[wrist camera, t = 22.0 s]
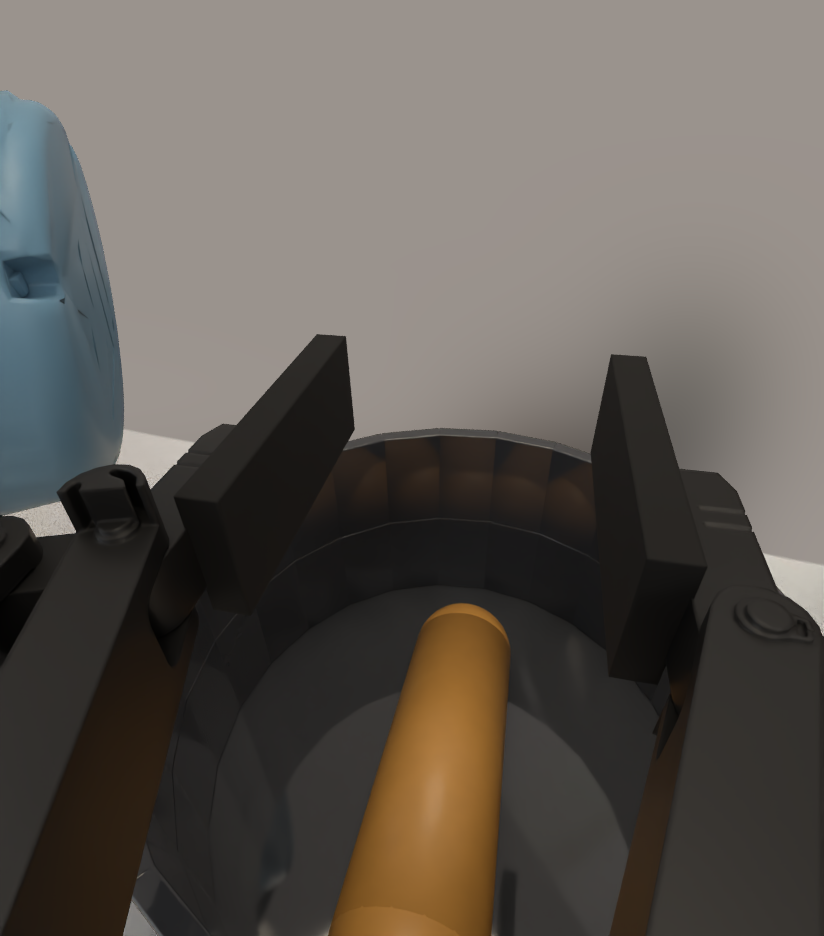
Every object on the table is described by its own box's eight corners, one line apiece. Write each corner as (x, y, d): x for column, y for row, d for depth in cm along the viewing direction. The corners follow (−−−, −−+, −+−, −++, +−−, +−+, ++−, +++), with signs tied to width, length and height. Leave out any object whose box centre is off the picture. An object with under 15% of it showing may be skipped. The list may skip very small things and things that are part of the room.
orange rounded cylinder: (472, 1143, 12) (487, 1053, 11) (301, 1086, 13) (291, 994, 11) (508, 663, 26) (517, 591, 24) (423, 648, 26) (426, 578, 25)
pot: (130, 731, 24) (29, 567, 18) (464, 535, 33) (471, 385, 27) (400, 1456, 11) (365, 1720, 5) (813, 812, 20) (967, 646, 15)
